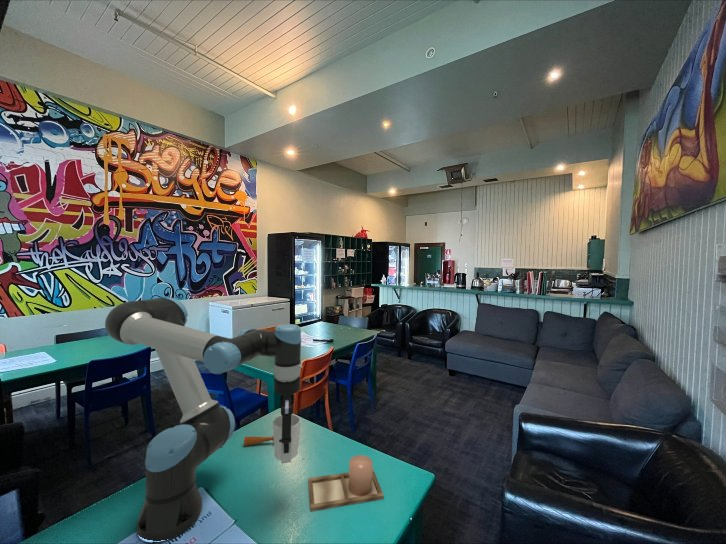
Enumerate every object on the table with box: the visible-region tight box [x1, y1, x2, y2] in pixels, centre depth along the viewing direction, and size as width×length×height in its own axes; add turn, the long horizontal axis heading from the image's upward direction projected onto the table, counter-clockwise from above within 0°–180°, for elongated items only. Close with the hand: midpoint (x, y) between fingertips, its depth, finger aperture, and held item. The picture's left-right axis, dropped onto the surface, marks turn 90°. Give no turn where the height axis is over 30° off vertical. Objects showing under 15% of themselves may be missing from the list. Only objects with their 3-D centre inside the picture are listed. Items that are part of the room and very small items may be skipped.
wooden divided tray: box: [307, 468, 385, 512], centre depth 92 cm, size 22×12×2 cm, turn 104°
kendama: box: [243, 435, 274, 447], centre depth 117 cm, size 6×6×20 cm
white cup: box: [272, 414, 301, 461], centre depth 88 cm, size 8×8×10 cm
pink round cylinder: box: [348, 454, 374, 496], centre depth 93 cm, size 7×7×8 cm
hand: (286, 452), depth 88 cm, fingers closed on white cup, 7 cm apart
